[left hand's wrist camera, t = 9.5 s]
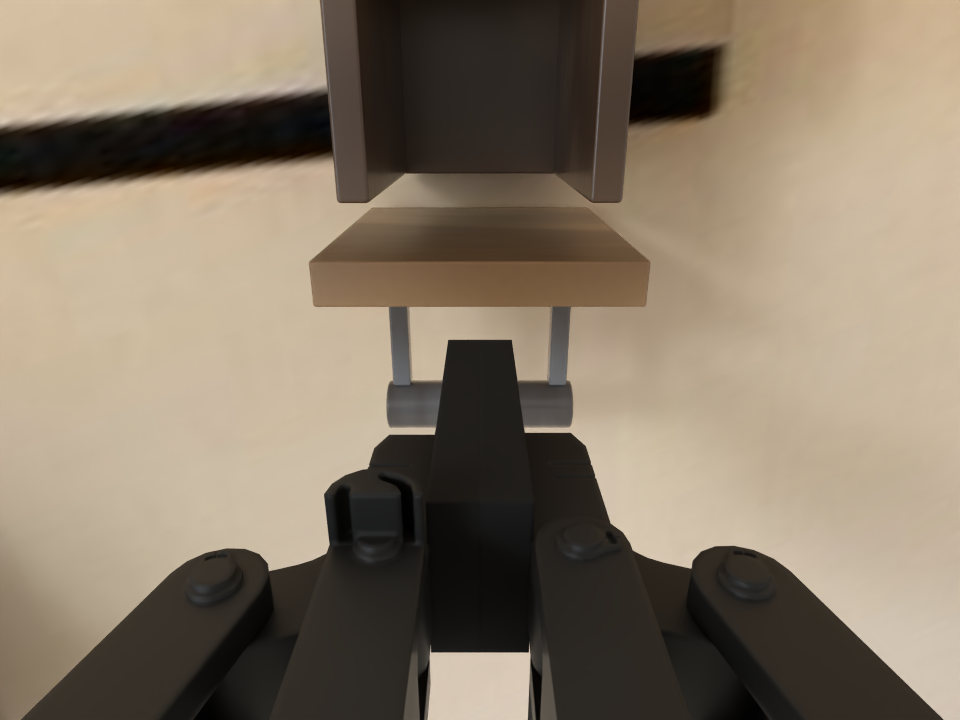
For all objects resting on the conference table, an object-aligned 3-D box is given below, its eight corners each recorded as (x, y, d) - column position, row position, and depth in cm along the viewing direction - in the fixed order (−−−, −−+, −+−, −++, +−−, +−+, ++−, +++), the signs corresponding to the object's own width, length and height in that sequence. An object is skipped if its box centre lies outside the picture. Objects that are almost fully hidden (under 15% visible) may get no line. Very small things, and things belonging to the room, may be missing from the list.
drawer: (578, 366, 27) (626, 493, 18) (381, 367, 27) (332, 493, 18) (631, -471, 17) (794, -1100, 8) (327, -471, 17) (162, -1100, 8)
